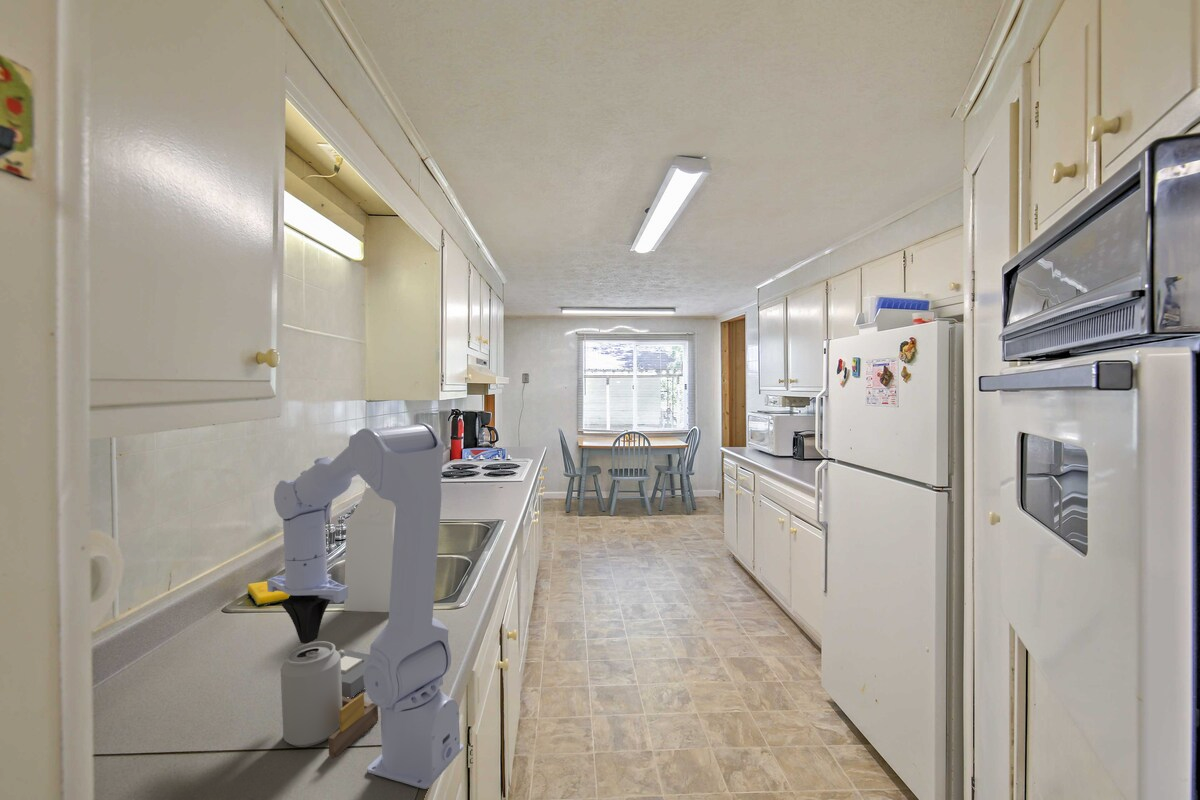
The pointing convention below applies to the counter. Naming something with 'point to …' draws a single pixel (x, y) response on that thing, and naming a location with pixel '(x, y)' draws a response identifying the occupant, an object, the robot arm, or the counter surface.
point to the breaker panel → (353, 674)
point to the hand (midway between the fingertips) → (309, 640)
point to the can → (311, 693)
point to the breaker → (349, 664)
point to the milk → (369, 554)
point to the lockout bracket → (352, 723)
